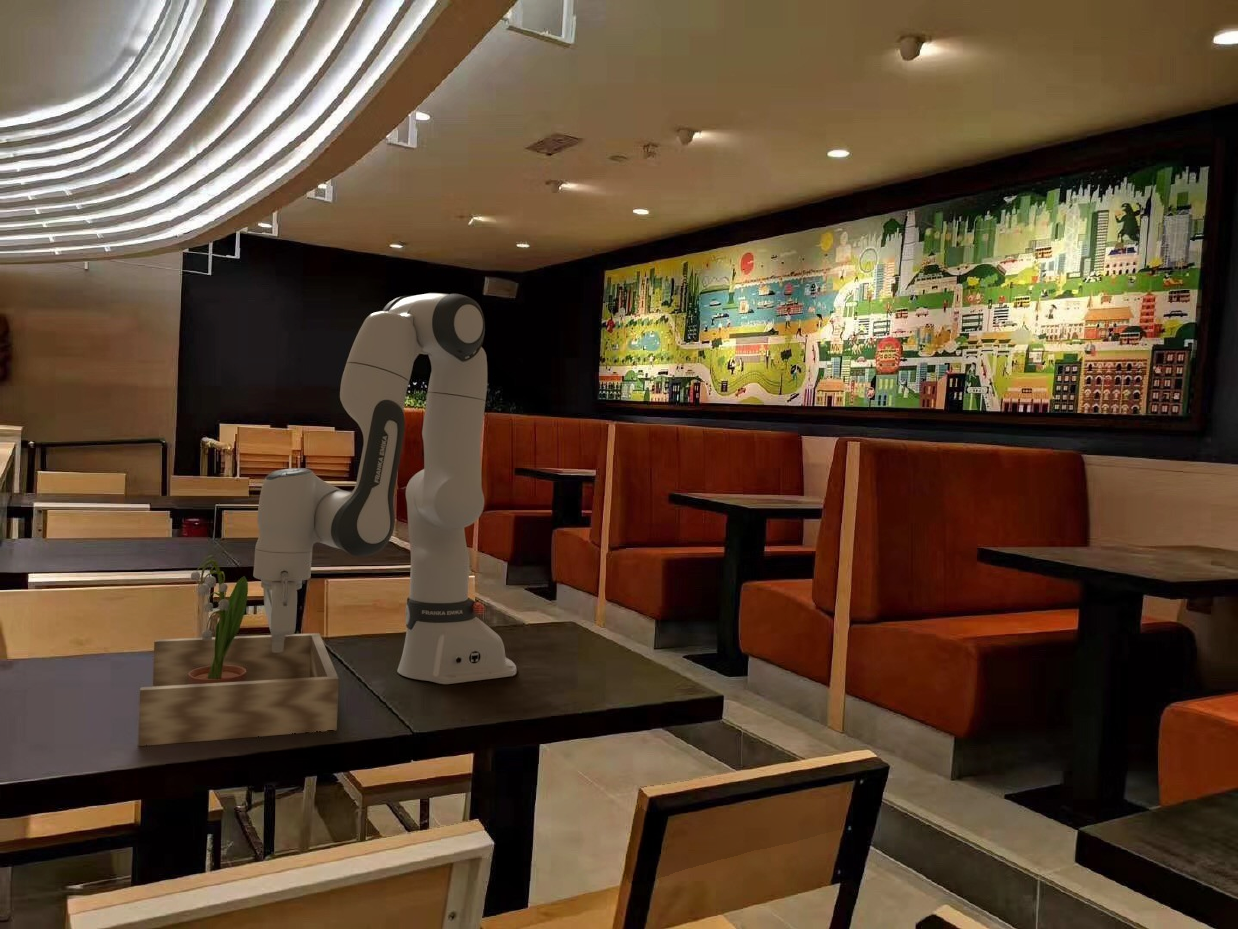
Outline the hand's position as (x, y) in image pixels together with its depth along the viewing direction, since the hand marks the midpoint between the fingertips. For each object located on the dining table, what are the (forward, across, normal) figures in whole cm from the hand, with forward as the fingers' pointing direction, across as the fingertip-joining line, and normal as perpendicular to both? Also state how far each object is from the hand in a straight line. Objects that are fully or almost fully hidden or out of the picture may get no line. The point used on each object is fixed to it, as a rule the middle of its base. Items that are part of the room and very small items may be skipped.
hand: (276, 650), depth 151 cm
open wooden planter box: (+9, 0, +5) cm, 11 cm away
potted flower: (+10, 0, +9) cm, 13 cm away
